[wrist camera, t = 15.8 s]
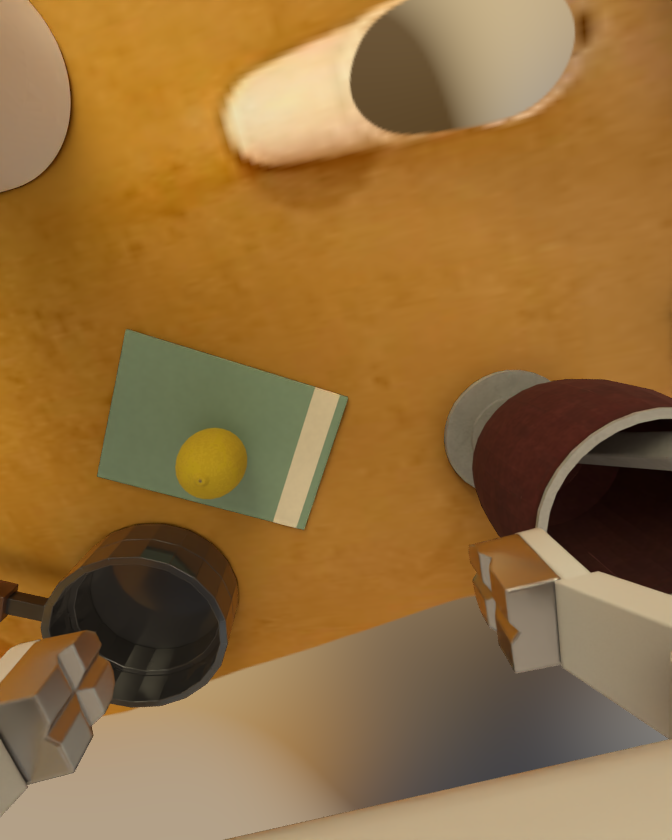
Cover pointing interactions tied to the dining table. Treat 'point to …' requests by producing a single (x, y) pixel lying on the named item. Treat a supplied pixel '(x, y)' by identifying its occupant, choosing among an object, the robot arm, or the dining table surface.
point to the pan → (150, 610)
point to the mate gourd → (572, 467)
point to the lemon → (211, 463)
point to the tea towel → (218, 408)
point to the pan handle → (20, 603)
